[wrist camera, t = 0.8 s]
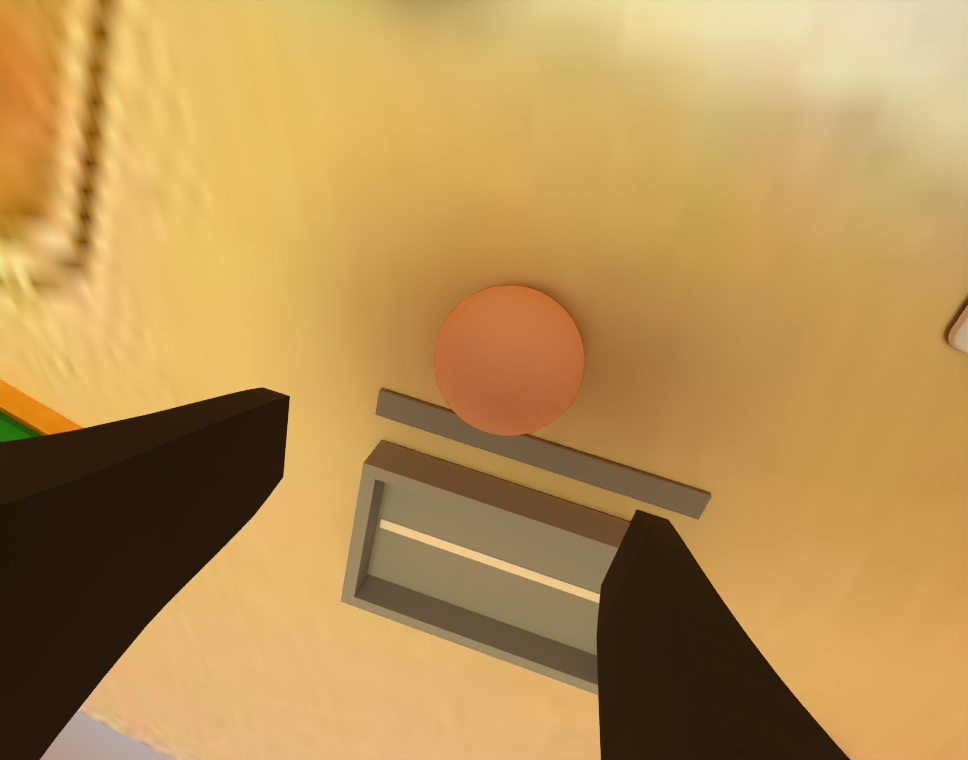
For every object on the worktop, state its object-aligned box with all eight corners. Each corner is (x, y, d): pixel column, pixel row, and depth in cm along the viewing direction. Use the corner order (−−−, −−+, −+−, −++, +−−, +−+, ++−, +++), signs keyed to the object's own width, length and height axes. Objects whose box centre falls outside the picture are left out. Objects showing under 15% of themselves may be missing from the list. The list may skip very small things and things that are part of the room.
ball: (605, 294, 18) (607, 337, 13) (562, 413, 20) (553, 485, 15) (471, 255, 18) (430, 284, 14) (444, 376, 20) (400, 435, 16)
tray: (675, 536, 21) (682, 569, 19) (609, 662, 24) (610, 699, 23) (381, 440, 22) (363, 463, 20) (357, 572, 26) (340, 601, 24)
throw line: (710, 493, 20) (711, 496, 20) (697, 516, 20) (698, 519, 20) (381, 388, 21) (379, 390, 21) (377, 412, 22) (375, 414, 22)
